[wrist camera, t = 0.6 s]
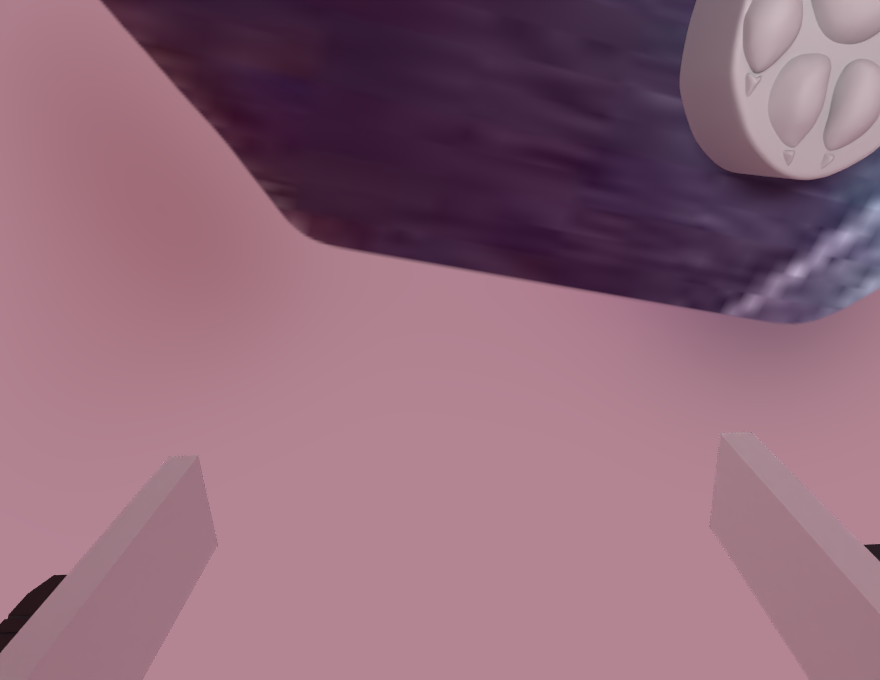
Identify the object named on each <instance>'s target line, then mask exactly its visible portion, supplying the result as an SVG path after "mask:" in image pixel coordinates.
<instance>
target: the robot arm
mask: <svg viewBox="0 0 880 680" xmlns="http://www.w3.org/2000/svg"><path fill="white" fill-rule="evenodd" d="M710 528H711V529H712V531H713V533H714V534H715V536H716V537H717V539H718V540H719V542H720V543H721V545H722V546H723V548H724V550H725V551H726V552H727V554H728V556H729V557H730V559H731V560H732V562H733V563H734V565H735V566H736V568H737V570H738V571H739V573H740V574H741V576H742V577H743V579H744V580H745V582H746V583H747V585H748V586H749V588H750V589H751V591H752V592H753V594H754V596H755V597H756V599H757V600H758V602H759V603H760V605H761V606H762V608H763V609H764V611H765V612H766V614H767V616H768V617H769V619H770V620H771V622H772V623H773V625H774V626H775V628H776V629H777V631H778V632H779V634H780V635H781V637H782V639H783V640H784V642H785V643H786V645H787V646H788V648H789V649H790V651H791V652H792V654H793V656H794V657H795V659H796V660H797V662H798V663H799V665H800V666H801V667H802V669H803V671H804V672H805V674H806V676H807V677H808V679H809V680H880V544H875V545H874V544H873V545H863V544H862V543H861V542H860V541H859V540H858V539H857V538H856V537H855V536H854V535H853V534H852V533H851V532H850V531H849V530H848V529H847V528H846V527H845V526H844V525H843V524H842V523H841V522H840V521H839V520H838V519H837V518H836V517H835V516H834V515H833V514H832V513H831V512H830V511H829V510H828V509H827V508H826V507H825V506H824V505H823V504H822V503H821V502H820V501H819V500H818V499H817V498H816V497H815V496H814V495H813V494H812V493H811V492H810V491H809V490H808V489H807V488H806V487H805V486H804V485H803V484H802V483H801V481H800V480H799V479H798V478H797V477H796V476H795V475H794V474H793V473H792V472H791V471H790V470H789V469H788V468H787V467H786V466H785V465H784V464H782V462H781V461H779V459H778V458H777V457H775V455H774V454H773V453H772V452H771V451H770V450H769V449H768V448H767V447H766V446H765V445H764V444H763V443H762V442H761V441H760V440H759V439H758V438H757V437H756V436H755V435H754V434H753V433H752V432H743V433H720V438H719V447H718V456H717V466H716V474H715V483H714V491H713V500H712V510H711V518H710ZM217 545H218V543H217V539H216V534H215V530H214V525H213V521H212V516H211V512H210V507H209V503H208V498H207V494H206V489H205V484H204V480H203V476H202V471H201V467H200V462H199V457H198V456H174V457H168V458H167V459H166V460H165V462H164V463H163V464H162V465H161V466H160V467H159V469H158V470H157V471H156V472H155V473H154V474H153V476H152V477H151V478H150V479H149V480H148V481H147V483H146V484H145V485H144V486H143V487H142V488H141V490H140V491H139V492H138V493H137V494H136V495H135V497H134V498H133V499H132V500H131V501H130V502H129V504H128V505H127V506H126V507H125V508H124V510H123V511H122V512H121V513H120V514H119V515H118V516H117V518H116V519H115V520H114V521H113V522H112V523H111V525H110V526H109V527H108V528H107V529H106V530H105V532H104V533H103V534H102V535H101V536H100V537H99V539H98V540H97V541H96V542H95V543H94V544H93V546H92V547H91V548H90V549H89V550H88V551H87V553H86V554H85V555H84V556H83V557H82V558H81V560H80V561H79V562H78V563H77V564H76V565H75V567H74V568H73V569H72V570H71V571H70V572H69V574H68V575H54V576H52V577H51V578H49V579H48V580H47V581H45V582H44V583H42V584H41V585H39V586H38V587H37V588H35V589H34V590H32V591H31V592H30V593H28V594H27V595H26V596H25V597H24V598H23V600H22V601H21V602H20V603H19V604H18V605H17V606H16V608H14V609H13V611H12V612H11V613H10V614H9V616H8V619H5V620H4V621H3V622H2V623H1V624H0V680H143V678H144V676H145V674H146V672H147V671H148V669H149V667H150V665H151V663H152V662H153V660H154V658H155V656H156V654H157V653H158V651H159V649H160V647H161V645H162V644H163V642H164V640H165V638H166V637H167V635H168V633H169V631H170V629H171V627H172V626H173V624H174V622H175V620H176V619H177V617H178V615H179V613H180V611H181V610H182V608H183V606H184V604H185V603H186V601H187V599H188V597H189V595H190V594H191V592H192V590H193V588H194V586H195V585H196V583H197V581H198V579H199V578H200V576H201V574H202V572H203V570H204V569H205V567H206V565H207V563H208V561H209V560H210V557H211V556H212V554H213V552H214V551H215V549H216V547H217Z"/></svg>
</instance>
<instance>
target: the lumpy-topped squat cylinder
mask: <svg viewBox="0 0 880 680" xmlns="http://www.w3.org/2000/svg"><path fill="white" fill-rule="evenodd" d="M680 93H681V98H682V102H683V106H684V110H685V113H686V117H687V120H688V123H689V126H690V128H691V131H692V133H693V136H694V138H695V140H696V141H697V143H698V144H699V146H700V147H701V148H702V150H703V151H704V152H705V153H706V154H707V156H708V157H709V158H710V159H711V160H712V161H713V162H715V163H716V164H717V165H718V166H720V167H721V168H723V169H725V170H727V171H730V172H734V173H741V174H750V175H758V176H767V177H778V178H787V179H795V180H812V179H818V178H823V177H827V176H830V175H832V174H835V173H837V172H839V171H842V170H844V169H846V168H848V167H850V166H851V165H853V164H855V163H857V162H859V161H860V160H862V159H864V158H865V157H867V156H868V155H870V154H871V153H872V152H874V151H875V150H876V149H877V148H878V147H880V0H696V4H695V7H694V10H693V13H692V16H691V20H690V24H689V28H688V32H687V36H686V41H685V46H684V51H683V57H682V63H681V70H680Z"/></svg>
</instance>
